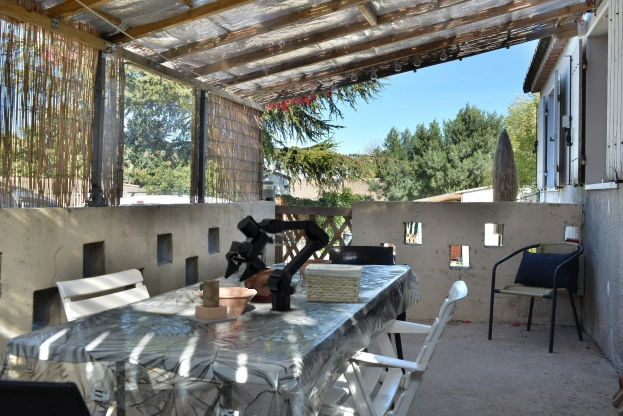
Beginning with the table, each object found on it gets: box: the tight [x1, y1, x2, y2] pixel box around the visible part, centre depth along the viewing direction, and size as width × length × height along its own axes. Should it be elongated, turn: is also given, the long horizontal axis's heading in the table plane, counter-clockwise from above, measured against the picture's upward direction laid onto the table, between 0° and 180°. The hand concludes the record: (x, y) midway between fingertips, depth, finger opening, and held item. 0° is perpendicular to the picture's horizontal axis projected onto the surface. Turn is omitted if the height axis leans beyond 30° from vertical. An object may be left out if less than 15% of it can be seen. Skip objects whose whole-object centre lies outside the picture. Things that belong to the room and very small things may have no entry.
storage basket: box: [304, 263, 363, 304], centre depth 259 cm, size 24×16×15 cm
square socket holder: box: [185, 304, 238, 326], centre depth 213 cm, size 13×13×5 cm
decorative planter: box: [244, 267, 275, 303], centre depth 252 cm, size 20×12×14 cm, turn 152°
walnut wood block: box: [202, 279, 220, 308], centre depth 212 cm, size 4×4×13 cm
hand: (232, 279), depth 219 cm, fingers open, 9 cm apart
